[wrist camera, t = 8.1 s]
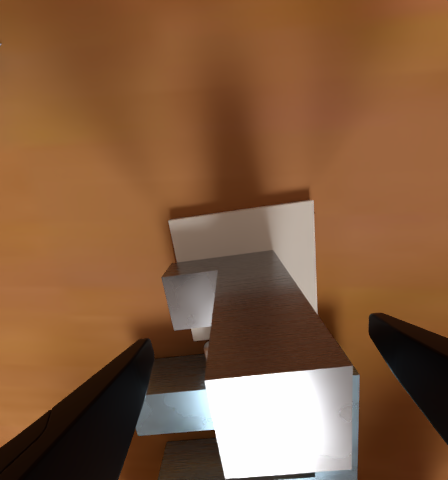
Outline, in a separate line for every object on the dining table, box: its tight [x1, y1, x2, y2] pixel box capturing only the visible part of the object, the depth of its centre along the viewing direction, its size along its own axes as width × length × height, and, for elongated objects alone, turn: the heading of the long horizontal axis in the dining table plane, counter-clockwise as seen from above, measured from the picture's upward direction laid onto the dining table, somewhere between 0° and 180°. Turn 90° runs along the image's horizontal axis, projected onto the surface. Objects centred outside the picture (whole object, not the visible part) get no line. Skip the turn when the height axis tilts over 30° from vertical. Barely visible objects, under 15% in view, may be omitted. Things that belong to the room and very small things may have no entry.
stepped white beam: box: [161, 250, 353, 479], centre depth 10 cm, size 7×4×9 cm, turn 98°
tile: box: [168, 200, 318, 341], centre depth 14 cm, size 9×9×1 cm
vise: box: [136, 340, 360, 480], centre depth 16 cm, size 15×14×3 cm
